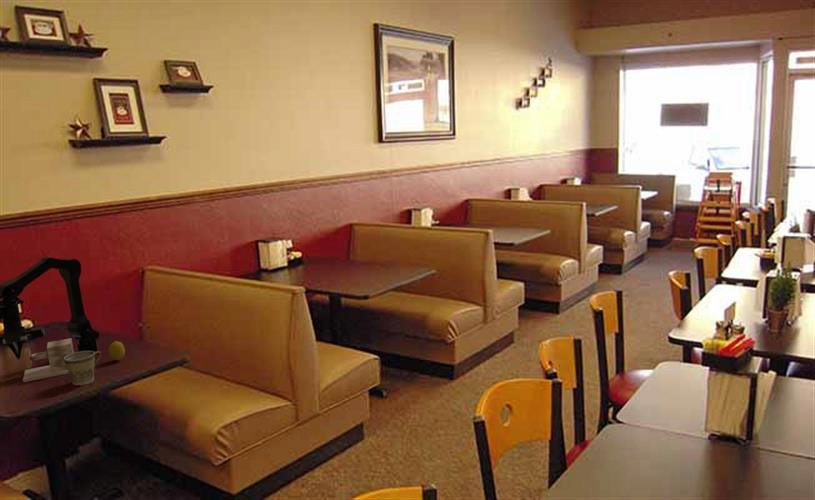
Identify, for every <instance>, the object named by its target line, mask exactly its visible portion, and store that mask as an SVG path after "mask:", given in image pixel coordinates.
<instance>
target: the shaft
mask: <svg viewBox="0 0 815 500" xmlns="http://www.w3.org/2000/svg"><path fill="white" fill-rule="evenodd" d="M23 357H24V362H25V368H26V369H32V366H33V361H37V360H42V359H47V358H48V352H47V350H46V351H41V352H36V353H31V348H30V347H25V348H24V351H23ZM48 359H49V358H48Z"/></svg>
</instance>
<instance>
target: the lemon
mask: <svg viewBox="0 0 815 500" xmlns="http://www.w3.org/2000/svg"><path fill="white" fill-rule="evenodd" d="M125 352H126V349H125V346H124V344H123V343H122V342H121V341H118V340H115V341H113V342H112V343H111V344H109V349H108V353H109V356H110V357H111V359H112V360H116V361H117V362H119V361H120V360H121V359H123V358H124V356H125Z"/></svg>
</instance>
